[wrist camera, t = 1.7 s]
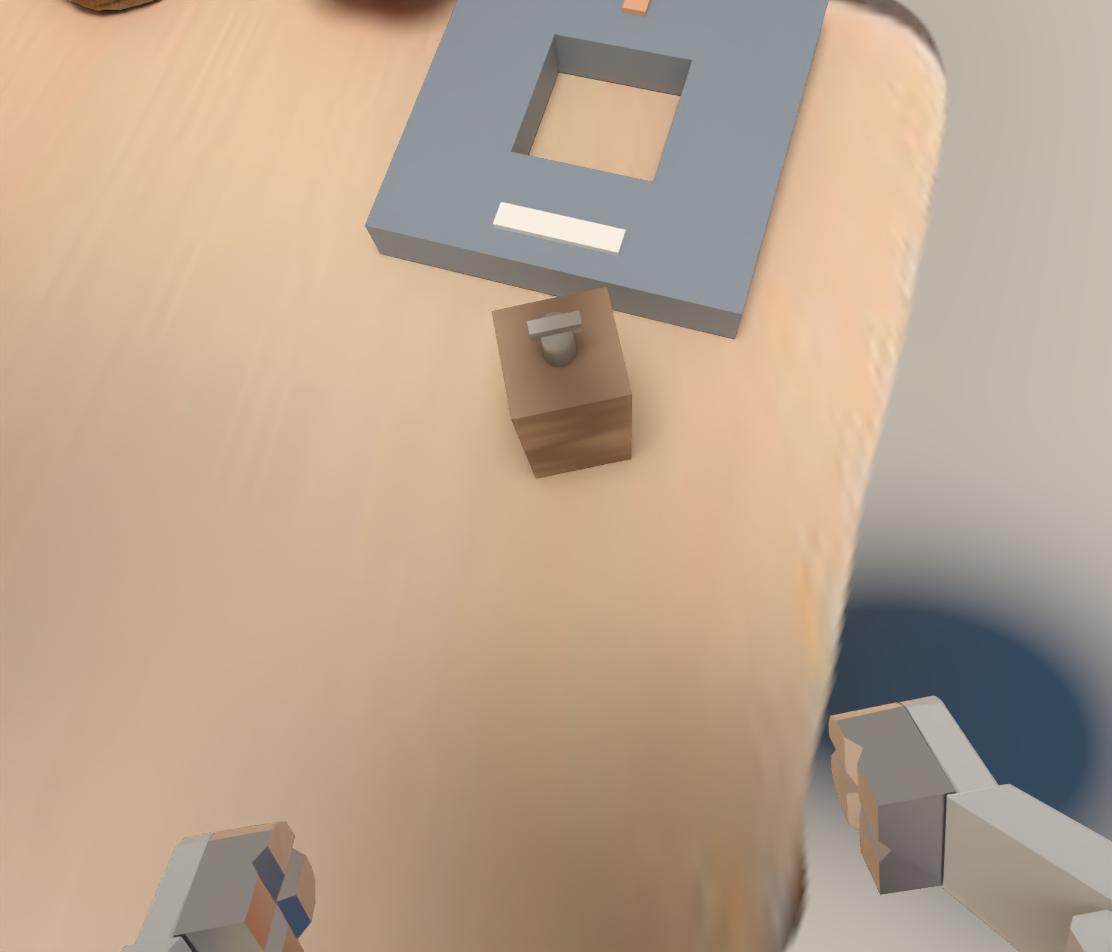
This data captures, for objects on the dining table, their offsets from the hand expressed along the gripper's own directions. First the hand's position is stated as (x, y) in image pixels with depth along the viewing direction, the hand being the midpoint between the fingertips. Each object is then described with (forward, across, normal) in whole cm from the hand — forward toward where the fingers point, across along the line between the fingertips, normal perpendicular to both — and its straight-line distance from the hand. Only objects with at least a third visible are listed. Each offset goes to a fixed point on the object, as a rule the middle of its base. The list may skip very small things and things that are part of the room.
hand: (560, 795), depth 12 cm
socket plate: (+36, -5, -4) cm, 37 cm away
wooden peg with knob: (+26, -1, +6) cm, 26 cm away
